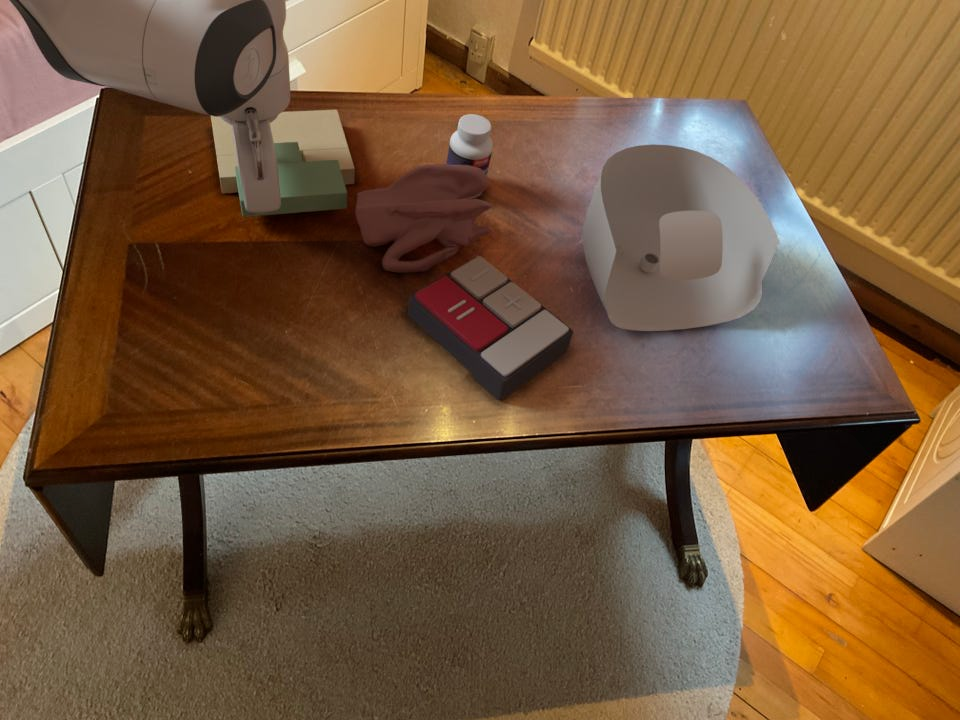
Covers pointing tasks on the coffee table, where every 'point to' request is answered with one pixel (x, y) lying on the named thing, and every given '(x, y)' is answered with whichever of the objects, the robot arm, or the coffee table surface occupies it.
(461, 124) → the pill bottle
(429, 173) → the figurine
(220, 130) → the beige pad
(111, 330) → the coffee table surface
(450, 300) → the calculator
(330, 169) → the green pad
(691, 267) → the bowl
